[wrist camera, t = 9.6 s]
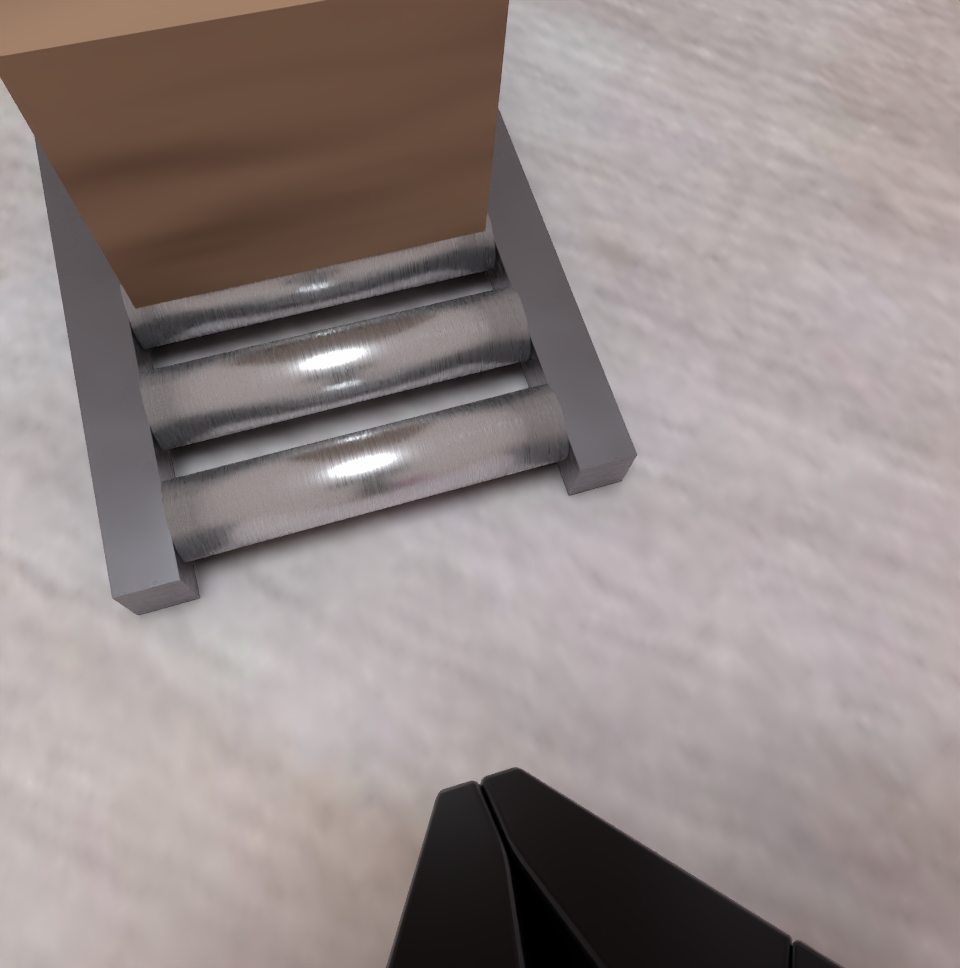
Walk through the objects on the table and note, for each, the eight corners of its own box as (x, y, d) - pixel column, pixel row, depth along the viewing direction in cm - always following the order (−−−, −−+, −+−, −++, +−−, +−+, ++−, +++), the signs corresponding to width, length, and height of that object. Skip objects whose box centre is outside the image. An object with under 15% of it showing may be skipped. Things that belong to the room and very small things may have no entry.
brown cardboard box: (485, 230, 22) (512, -32, 15) (135, 308, 21) (-11, 58, 14) (403, 10, 25) (394, -302, 18) (87, 66, 24) (-58, -249, 16)
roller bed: (621, 480, 23) (685, 374, 17) (137, 615, 21) (31, 544, 15) (431, -8, 29) (432, -206, 23) (39, 61, 27) (-64, -138, 21)
